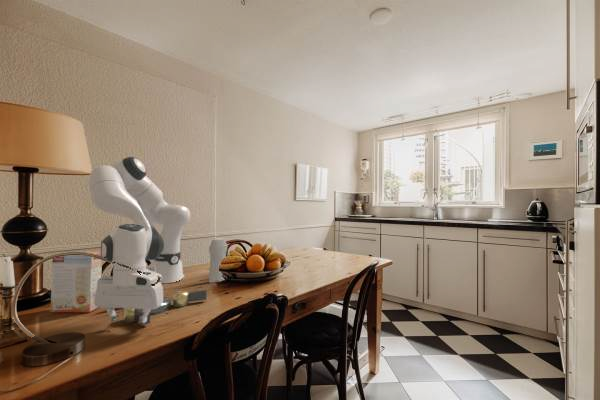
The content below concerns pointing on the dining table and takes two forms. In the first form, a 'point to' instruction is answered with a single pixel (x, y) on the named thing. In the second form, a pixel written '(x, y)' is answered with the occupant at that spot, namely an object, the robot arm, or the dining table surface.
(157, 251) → the robot arm
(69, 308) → the cracker box
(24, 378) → the dining table surface
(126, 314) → the knob front
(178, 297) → the knob left
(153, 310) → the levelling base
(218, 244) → the tall pale column
